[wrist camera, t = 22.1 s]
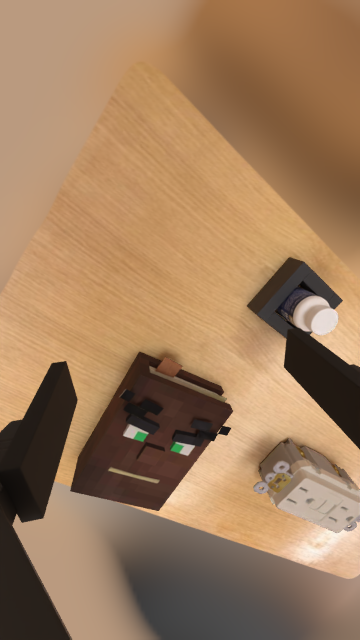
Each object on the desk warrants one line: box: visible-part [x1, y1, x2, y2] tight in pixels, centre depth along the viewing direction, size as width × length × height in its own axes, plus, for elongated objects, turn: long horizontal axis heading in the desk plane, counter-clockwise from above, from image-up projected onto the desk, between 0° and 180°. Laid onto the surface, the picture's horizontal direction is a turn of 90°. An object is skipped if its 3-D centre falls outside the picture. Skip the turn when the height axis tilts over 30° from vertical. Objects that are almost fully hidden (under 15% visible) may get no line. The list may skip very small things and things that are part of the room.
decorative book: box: [70, 352, 233, 511], centre depth 47 cm, size 19×8×30 cm
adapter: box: [247, 258, 343, 339], centre depth 43 cm, size 10×10×4 cm
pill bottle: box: [276, 286, 338, 335], centre depth 40 cm, size 5×5×10 cm
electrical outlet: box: [253, 439, 360, 533], centre depth 57 cm, size 12×28×10 cm, turn 56°
